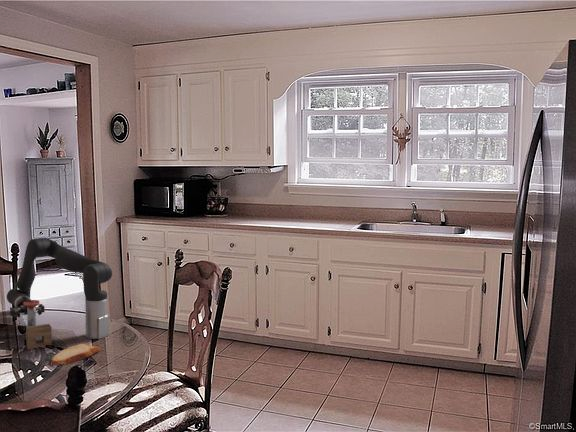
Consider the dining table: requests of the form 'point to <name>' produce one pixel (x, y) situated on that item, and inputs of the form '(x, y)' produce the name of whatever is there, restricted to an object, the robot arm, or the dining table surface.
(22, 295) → the robot arm
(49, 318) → the dining table surface
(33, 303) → the copper-capped metal peg
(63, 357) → the seeded bread slice
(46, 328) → the brown striped block
